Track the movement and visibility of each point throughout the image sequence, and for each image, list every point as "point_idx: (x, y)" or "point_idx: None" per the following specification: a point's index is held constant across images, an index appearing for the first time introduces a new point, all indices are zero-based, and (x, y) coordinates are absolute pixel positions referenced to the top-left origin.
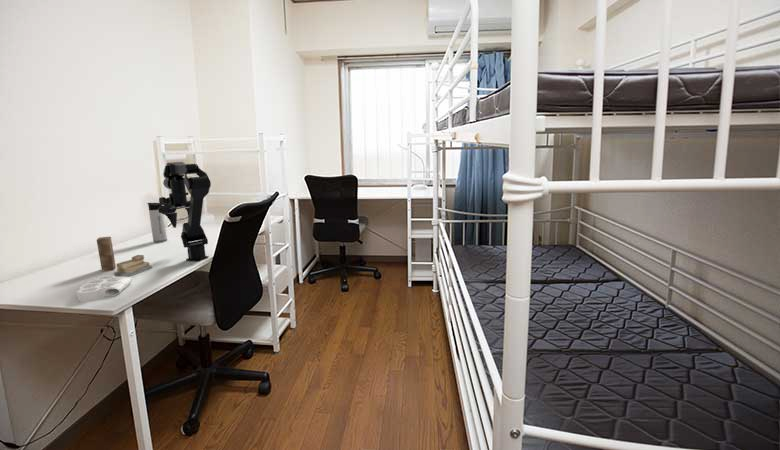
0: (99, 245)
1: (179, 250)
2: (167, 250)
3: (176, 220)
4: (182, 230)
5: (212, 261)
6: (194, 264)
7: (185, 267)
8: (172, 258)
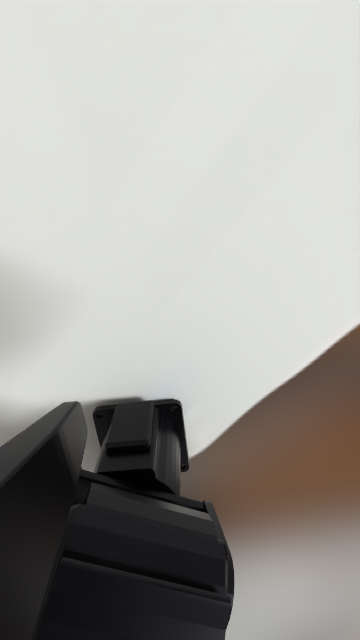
0: None
1: (252, 147)
2: (217, 22)
3: (35, 602)
4: (59, 564)
5: None
6: None
7: None
8: (81, 296)
